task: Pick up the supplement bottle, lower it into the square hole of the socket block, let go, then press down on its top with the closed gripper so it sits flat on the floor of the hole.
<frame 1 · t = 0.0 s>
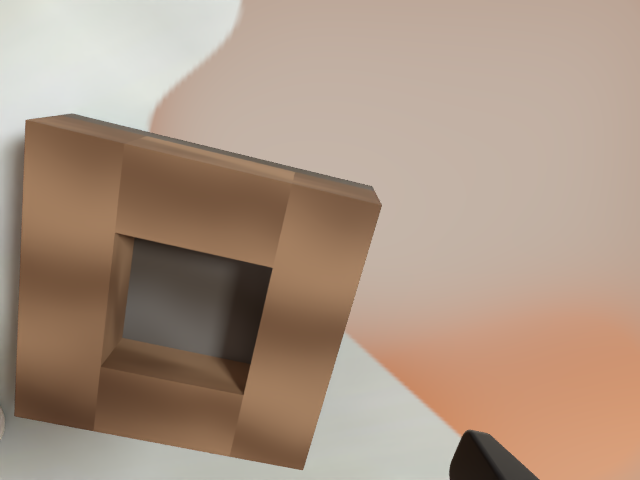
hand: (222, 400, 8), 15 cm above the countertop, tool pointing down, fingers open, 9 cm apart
socket block: (202, 285, 24), on the countertop
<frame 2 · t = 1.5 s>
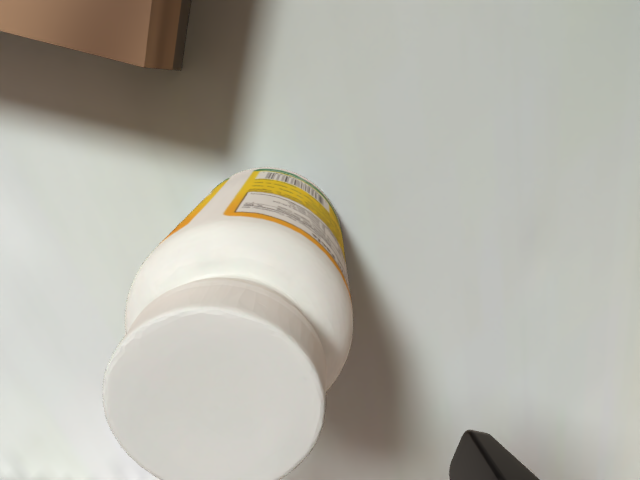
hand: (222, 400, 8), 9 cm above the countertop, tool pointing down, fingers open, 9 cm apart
supplement bottle: (269, 234, 17), on the countertop
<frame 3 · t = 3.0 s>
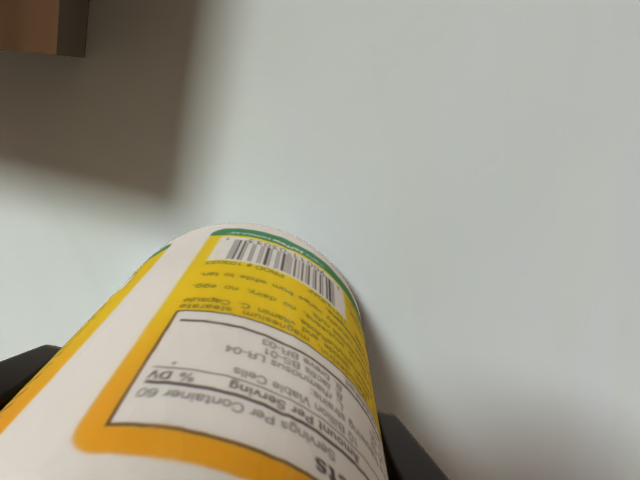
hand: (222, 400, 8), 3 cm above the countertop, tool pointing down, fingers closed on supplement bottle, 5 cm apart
supplement bottle: (244, 324, 11), on the countertop, touching gripper
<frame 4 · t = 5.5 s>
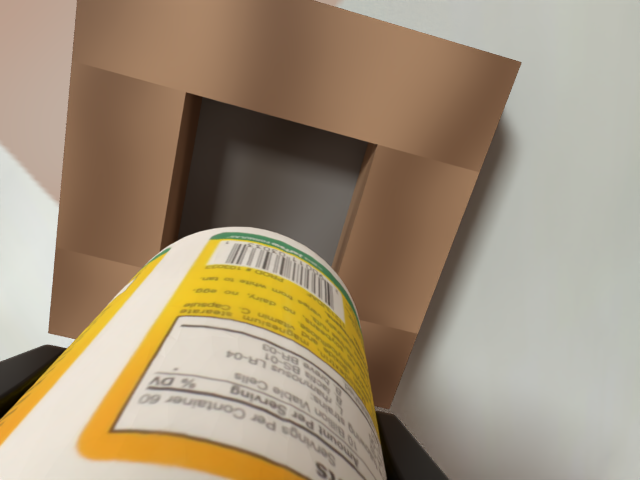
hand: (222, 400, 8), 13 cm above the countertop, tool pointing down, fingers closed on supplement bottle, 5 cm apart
supplement bottle: (243, 327, 11), point 10 cm above the countertop, touching gripper
socket block: (271, 189, 20), on the countertop
when the fingers open (5 cm above the countertop, at t = 7.8 s): supplement bottle drops 1 cm, resting on socket block.
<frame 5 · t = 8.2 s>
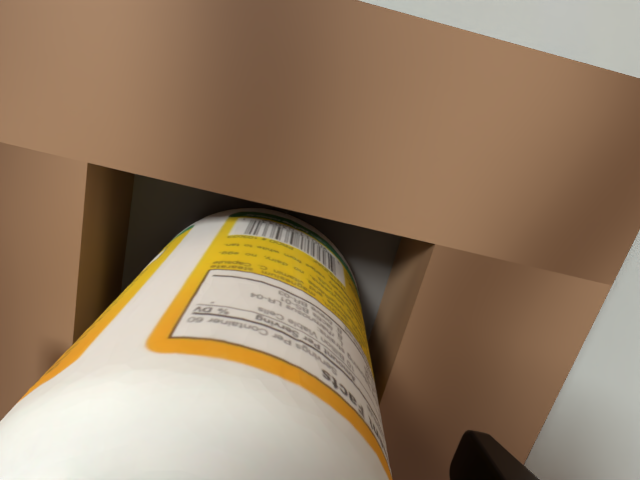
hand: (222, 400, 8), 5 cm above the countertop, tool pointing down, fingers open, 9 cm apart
supplement bottle: (255, 299, 12), point 1 cm above the countertop, touching socket block
socket block: (255, 283, 13), on the countertop
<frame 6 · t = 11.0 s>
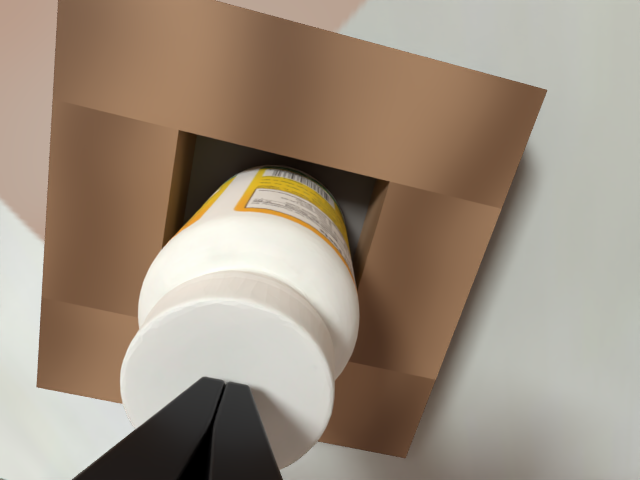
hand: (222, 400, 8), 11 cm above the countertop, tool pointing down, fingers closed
supplement bottle: (274, 231, 18), point 1 cm above the countertop, touching socket block
socket block: (274, 223, 18), on the countertop
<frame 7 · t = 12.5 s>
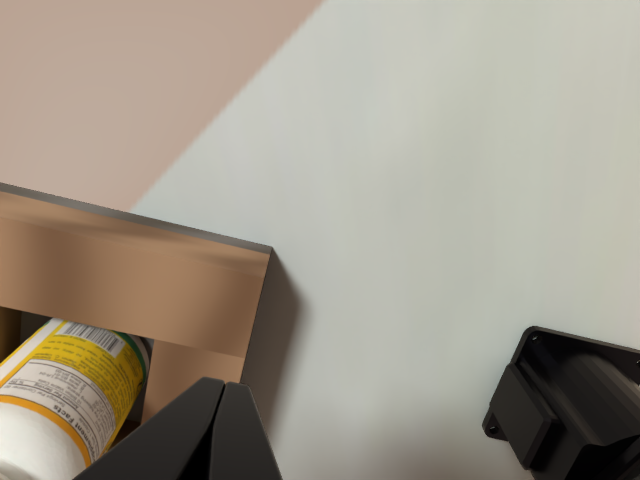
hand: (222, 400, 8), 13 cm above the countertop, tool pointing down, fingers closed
supplement bottle: (96, 354, 22), point 1 cm above the countertop, touching socket block
socket block: (101, 343, 23), on the countertop
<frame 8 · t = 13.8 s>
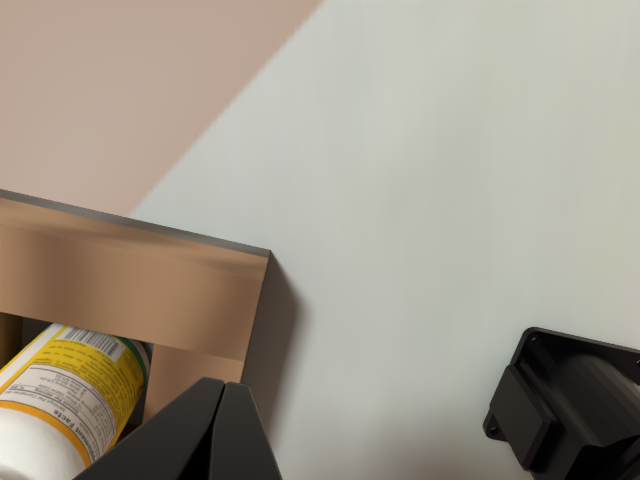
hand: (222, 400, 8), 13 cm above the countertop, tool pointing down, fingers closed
supplement bottle: (97, 359, 22), point 1 cm above the countertop, touching socket block
socket block: (102, 348, 23), on the countertop
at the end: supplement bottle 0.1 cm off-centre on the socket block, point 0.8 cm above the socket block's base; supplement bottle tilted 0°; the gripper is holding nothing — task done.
